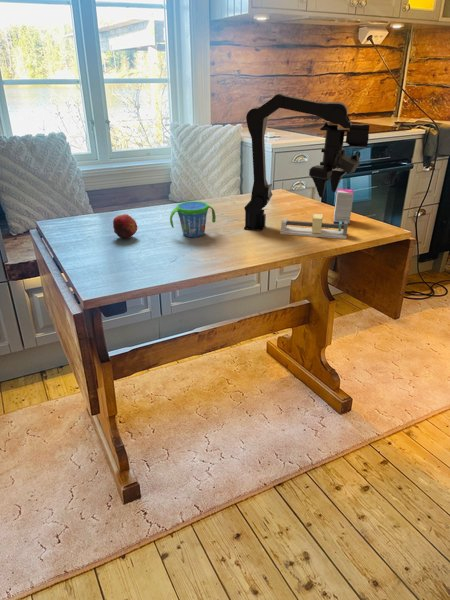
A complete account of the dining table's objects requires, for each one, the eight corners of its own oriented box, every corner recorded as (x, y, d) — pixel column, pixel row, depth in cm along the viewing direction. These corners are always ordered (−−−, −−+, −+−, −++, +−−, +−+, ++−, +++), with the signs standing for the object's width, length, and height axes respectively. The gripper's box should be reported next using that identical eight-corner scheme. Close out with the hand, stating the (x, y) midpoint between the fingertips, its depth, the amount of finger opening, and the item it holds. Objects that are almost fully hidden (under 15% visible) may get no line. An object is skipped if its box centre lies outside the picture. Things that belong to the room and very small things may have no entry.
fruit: (141, 235, 159) (139, 212, 155) (131, 243, 152) (129, 219, 148) (120, 233, 160) (118, 211, 157) (110, 241, 154) (107, 217, 150)
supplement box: (350, 224, 168) (353, 193, 163) (333, 223, 169) (336, 192, 164) (349, 219, 173) (353, 189, 168) (333, 218, 174) (336, 188, 169)
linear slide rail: (280, 234, 159) (281, 220, 157) (282, 228, 164) (283, 215, 162) (346, 239, 154) (347, 225, 152) (346, 233, 160) (348, 219, 157)
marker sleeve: (311, 232, 157) (312, 218, 155) (312, 228, 161) (314, 213, 159) (320, 233, 156) (322, 218, 154) (321, 228, 160) (322, 214, 158)
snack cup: (173, 241, 153) (171, 211, 149) (168, 231, 162) (167, 202, 158) (219, 237, 157) (218, 207, 152) (212, 227, 166) (211, 199, 161)
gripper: (344, 152, 136) (337, 205, 143) (369, 145, 149) (361, 193, 156) (310, 148, 142) (305, 198, 149) (337, 141, 155) (331, 187, 162)
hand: (327, 194), depth 154 cm, fingers open, 9 cm apart
